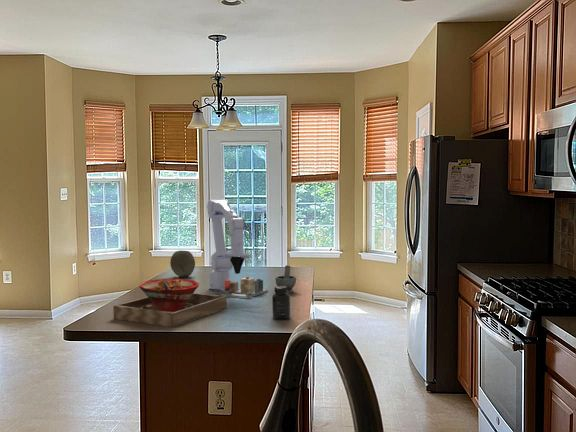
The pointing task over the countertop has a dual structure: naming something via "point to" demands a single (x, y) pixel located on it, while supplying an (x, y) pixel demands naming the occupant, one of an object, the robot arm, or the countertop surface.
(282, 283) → the mortar and pestle
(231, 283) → the block
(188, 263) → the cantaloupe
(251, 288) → the block
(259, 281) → the press
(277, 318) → the supplement bottle
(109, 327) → the countertop surface
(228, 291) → the lever
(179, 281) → the stew
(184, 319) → the wooden tray
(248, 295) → the rail
